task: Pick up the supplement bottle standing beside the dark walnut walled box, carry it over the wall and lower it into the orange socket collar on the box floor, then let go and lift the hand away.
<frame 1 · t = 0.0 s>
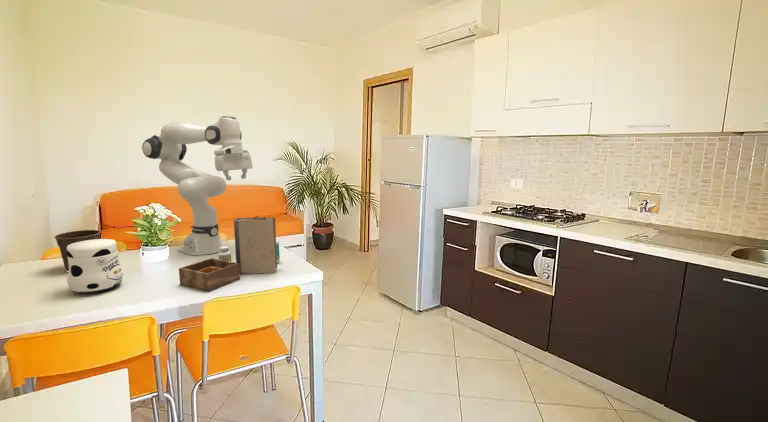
hand: (236, 179, 191), 39 cm above the table, tool pointing down, fingers open, 8 cm apart
supplement bottle: (225, 268, 181), on the table
milk container: (97, 289, 154), on the table
pill bottle: (271, 263, 189), on the table
walled box: (210, 282, 162), on the table
plant pot: (82, 269, 177), on the table
book: (257, 271, 176), on the table
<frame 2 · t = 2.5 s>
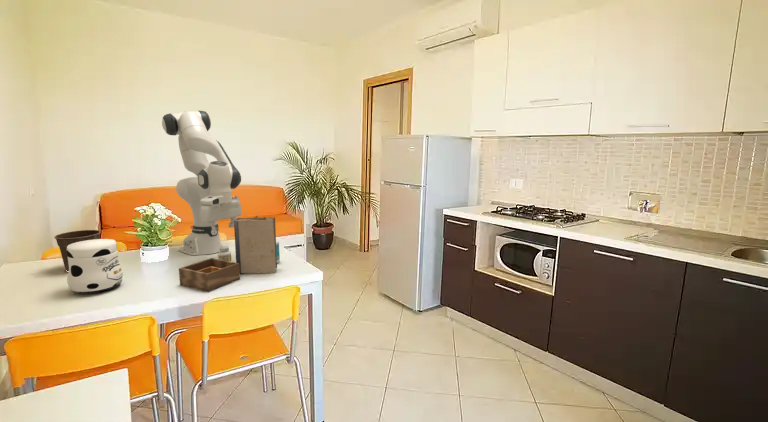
hand: (223, 229, 177), 18 cm above the table, tool pointing down, fingers open, 8 cm apart
nothing on the table moved.
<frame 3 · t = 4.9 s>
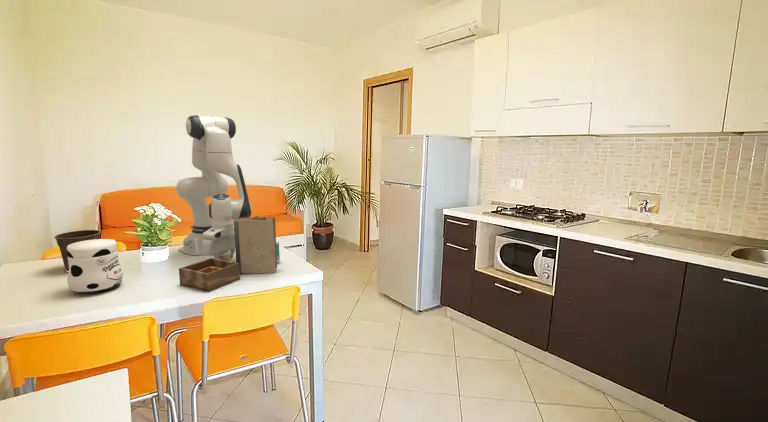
hand: (224, 260, 180), 4 cm above the table, tool pointing down, fingers closed on supplement bottle, 5 cm apart
supplement bottle: (225, 268, 181), on the table, touching gripper
everything else where it was.
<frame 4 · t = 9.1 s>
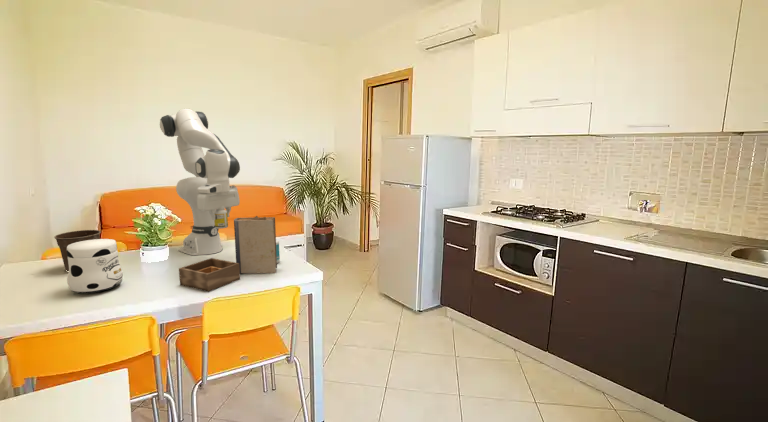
hand: (220, 218, 174), 23 cm above the table, tool pointing down, fingers closed on supplement bottle, 5 cm apart
supplement bottle: (221, 228, 175), point 19 cm above the table, touching gripper
everything else where it was.
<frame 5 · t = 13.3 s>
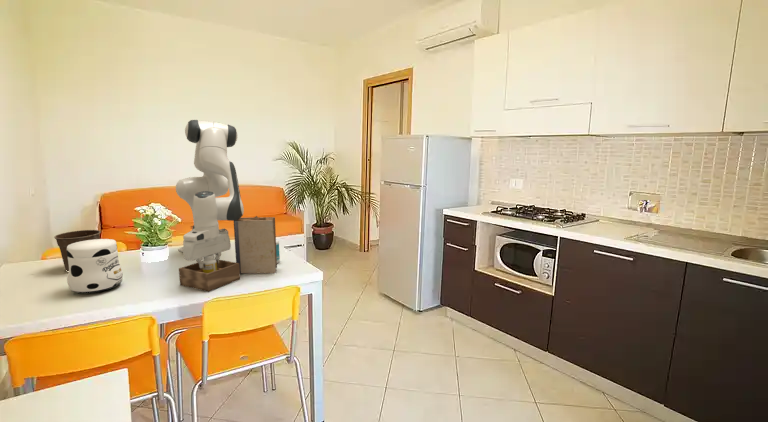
hand: (209, 265, 161), 7 cm above the table, tool pointing down, fingers closed on supplement bottle, 5 cm apart
supplement bottle: (210, 278, 162), point 2 cm above the table, touching gripper
book: (257, 271, 176), on the table, touching arm
everything else where it was.
when the fingers open (7 cm above the table, at t = 13.9 s): supplement bottle stays where it is, resting on walled box.
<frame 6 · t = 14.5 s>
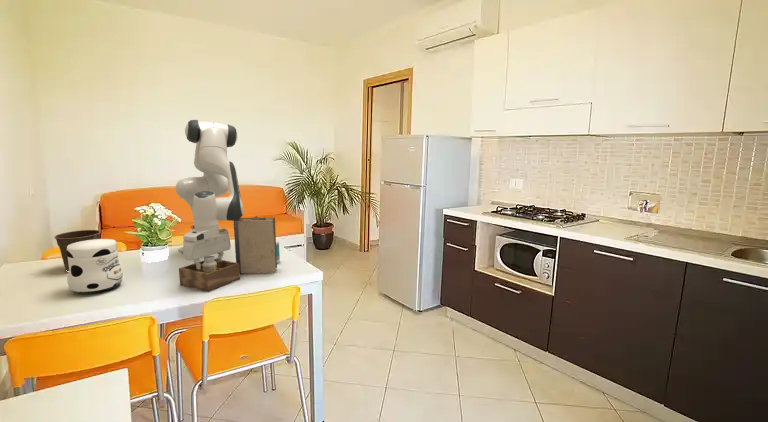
hand: (209, 265, 161), 7 cm above the table, tool pointing down, fingers open, 8 cm apart
supplement bottle: (210, 280, 162), point 1 cm above the table, touching walled box
everything else where it was.
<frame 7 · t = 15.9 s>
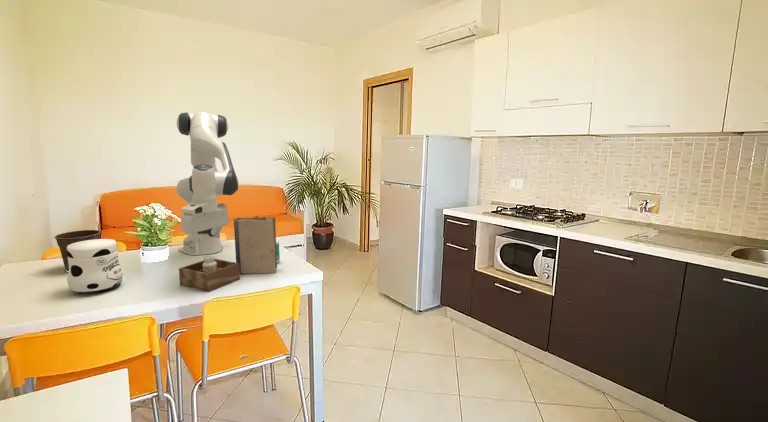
hand: (207, 240, 160), 18 cm above the table, tool pointing down, fingers open, 8 cm apart
book: (257, 271, 176), on the table
everything else where it was.
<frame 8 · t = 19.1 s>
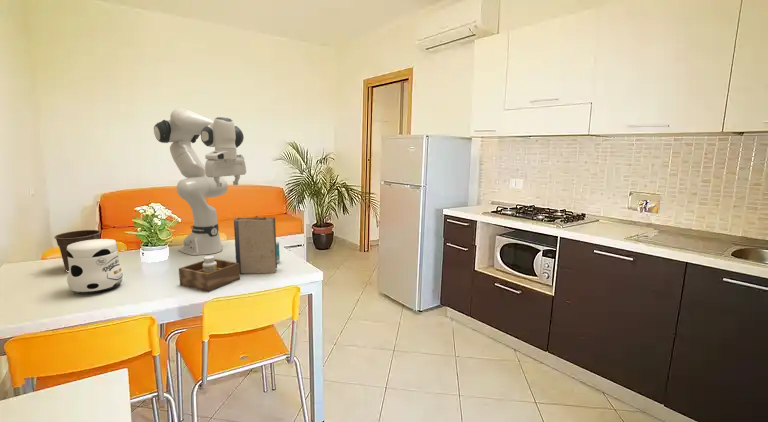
hand: (227, 186, 178), 37 cm above the table, tool pointing down, fingers open, 8 cm apart
nothing on the table moved.
at the end: supplement bottle 0.6 cm off-centre on the walled box, point 0.8 cm above the walled box's base; supplement bottle tilted 0°; the gripper is holding nothing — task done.
